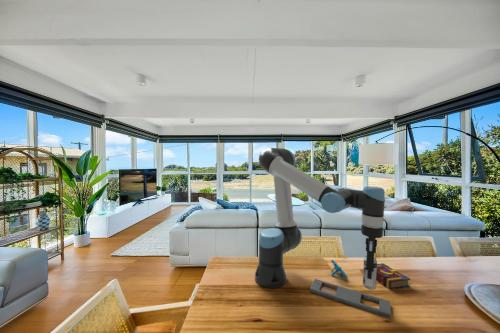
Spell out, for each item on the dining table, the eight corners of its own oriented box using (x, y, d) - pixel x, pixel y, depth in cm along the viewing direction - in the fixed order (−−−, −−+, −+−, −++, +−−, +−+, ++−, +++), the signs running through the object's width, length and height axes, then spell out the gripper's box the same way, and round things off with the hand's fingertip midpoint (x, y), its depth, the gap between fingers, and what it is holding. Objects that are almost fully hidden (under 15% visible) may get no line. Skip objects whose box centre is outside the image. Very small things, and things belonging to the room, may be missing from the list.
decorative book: (389, 290, 96) (390, 280, 96) (363, 272, 112) (363, 263, 112) (410, 288, 99) (410, 277, 99) (381, 270, 114) (381, 261, 114)
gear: (350, 279, 101) (335, 262, 104) (341, 287, 102) (326, 270, 104) (345, 271, 112) (331, 255, 114) (336, 278, 113) (322, 263, 115)
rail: (309, 291, 94) (309, 288, 94) (315, 281, 102) (315, 278, 102) (390, 318, 79) (391, 314, 79) (389, 304, 86) (390, 301, 86)
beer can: (359, 283, 88) (361, 255, 88) (370, 283, 89) (372, 255, 88) (367, 290, 84) (368, 260, 83) (378, 290, 84) (380, 260, 84)
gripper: (383, 233, 76) (380, 297, 77) (382, 221, 91) (380, 275, 92) (359, 229, 80) (356, 290, 81) (363, 218, 95) (360, 270, 96)
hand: (369, 282), depth 86 cm, fingers closed on beer can, 5 cm apart
